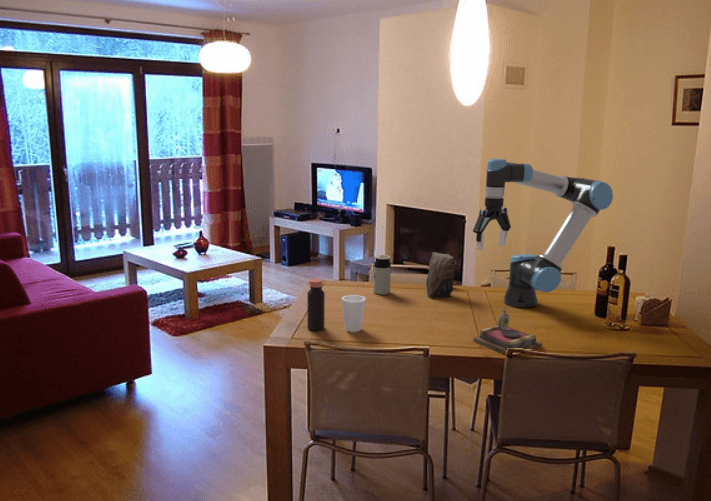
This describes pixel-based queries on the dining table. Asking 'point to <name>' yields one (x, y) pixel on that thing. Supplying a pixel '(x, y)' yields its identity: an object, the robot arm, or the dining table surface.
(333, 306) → the dining table surface
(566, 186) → the robot arm
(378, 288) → the travel mug
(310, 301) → the bottle
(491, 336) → the stand
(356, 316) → the foam cup
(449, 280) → the grey rough lump
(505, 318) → the pocket watch
